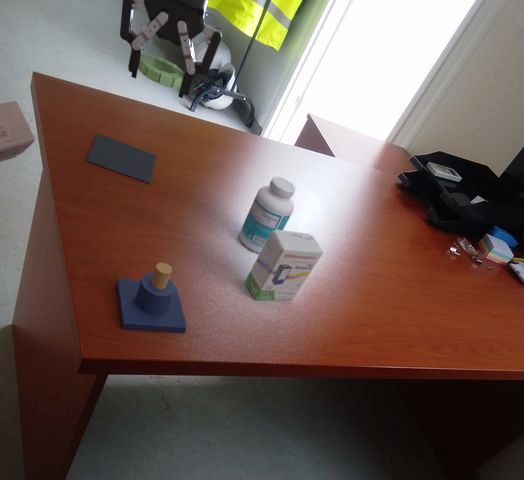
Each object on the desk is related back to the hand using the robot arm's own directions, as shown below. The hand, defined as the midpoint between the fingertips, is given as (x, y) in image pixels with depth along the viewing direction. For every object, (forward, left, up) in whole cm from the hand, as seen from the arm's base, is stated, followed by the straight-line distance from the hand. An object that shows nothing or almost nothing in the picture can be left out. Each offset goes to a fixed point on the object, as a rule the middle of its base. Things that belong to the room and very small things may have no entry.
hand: (157, 85), depth 70 cm
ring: (0, 0, +1) cm, 1 cm away
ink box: (+27, -15, -20) cm, 37 cm away
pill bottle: (+25, -1, -20) cm, 32 cm away
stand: (+7, -27, -20) cm, 34 cm away
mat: (-3, +13, -20) cm, 24 cm away
